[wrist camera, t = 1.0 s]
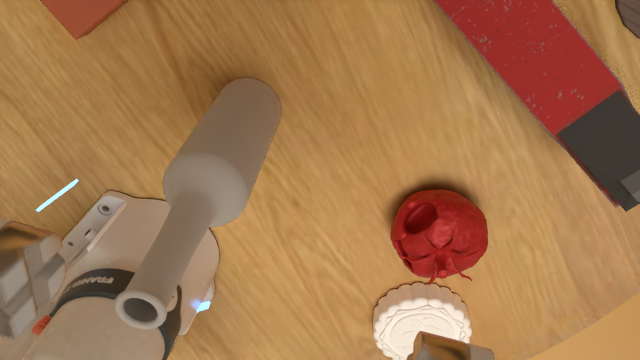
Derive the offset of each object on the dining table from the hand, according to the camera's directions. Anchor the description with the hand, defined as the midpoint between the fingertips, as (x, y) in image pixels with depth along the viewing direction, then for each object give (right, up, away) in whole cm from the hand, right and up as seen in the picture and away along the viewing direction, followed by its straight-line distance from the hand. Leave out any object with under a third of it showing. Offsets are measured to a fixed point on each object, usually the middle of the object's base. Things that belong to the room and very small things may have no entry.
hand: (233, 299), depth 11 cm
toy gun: (+20, +15, +33) cm, 42 cm away
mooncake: (+15, -15, +51) cm, 55 cm away
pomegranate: (+15, -1, +43) cm, 46 cm away
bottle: (-5, +10, +39) cm, 40 cm away
